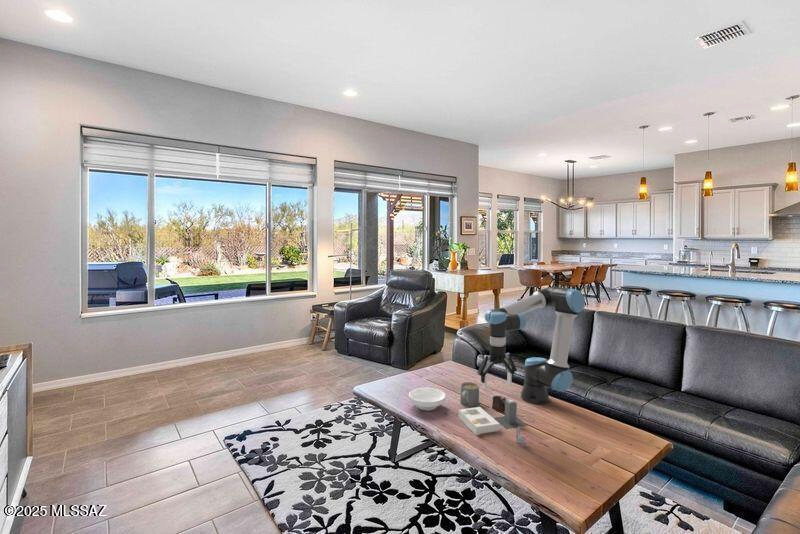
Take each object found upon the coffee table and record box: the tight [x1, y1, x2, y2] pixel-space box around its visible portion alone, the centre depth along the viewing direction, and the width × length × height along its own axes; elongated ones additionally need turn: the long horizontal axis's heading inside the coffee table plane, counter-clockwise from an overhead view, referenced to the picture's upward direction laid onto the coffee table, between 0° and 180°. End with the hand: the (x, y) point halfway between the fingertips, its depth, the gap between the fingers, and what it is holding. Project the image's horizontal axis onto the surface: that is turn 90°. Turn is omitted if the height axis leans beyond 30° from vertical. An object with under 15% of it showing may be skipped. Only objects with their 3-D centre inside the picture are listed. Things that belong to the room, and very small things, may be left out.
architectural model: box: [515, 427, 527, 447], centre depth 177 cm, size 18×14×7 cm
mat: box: [493, 415, 528, 430], centre depth 195 cm, size 12×12×1 cm
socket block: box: [457, 406, 501, 436], centre depth 193 cm, size 12×19×4 cm, turn 17°
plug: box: [504, 399, 518, 424], centre depth 194 cm, size 4×4×11 cm
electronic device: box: [491, 395, 507, 414], centre depth 208 cm, size 4×10×8 cm, turn 44°
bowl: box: [408, 387, 446, 411], centre depth 211 cm, size 20×20×7 cm
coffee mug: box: [459, 381, 480, 408], centre depth 216 cm, size 13×10×10 cm
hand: (496, 387), depth 193 cm, fingers open, 13 cm apart
